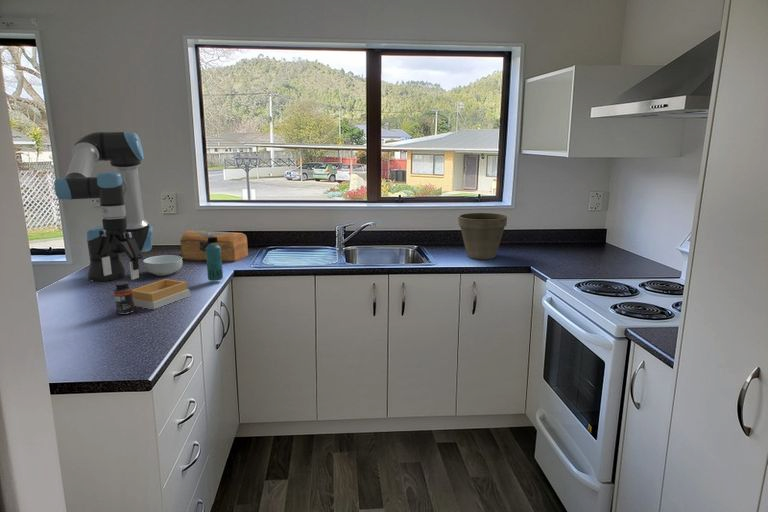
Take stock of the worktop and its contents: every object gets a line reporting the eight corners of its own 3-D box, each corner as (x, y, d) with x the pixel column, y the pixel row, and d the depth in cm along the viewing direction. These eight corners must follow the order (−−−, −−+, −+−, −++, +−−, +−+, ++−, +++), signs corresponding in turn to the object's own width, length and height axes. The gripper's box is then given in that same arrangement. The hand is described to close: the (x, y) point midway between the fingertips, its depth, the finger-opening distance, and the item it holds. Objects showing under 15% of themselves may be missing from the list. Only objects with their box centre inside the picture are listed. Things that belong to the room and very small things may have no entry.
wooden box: (180, 260, 266) (177, 233, 263) (198, 253, 281) (196, 228, 278) (233, 263, 259) (231, 236, 256) (248, 256, 275) (247, 230, 272)
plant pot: (448, 253, 278) (449, 213, 273) (486, 249, 288) (487, 210, 283) (474, 264, 256) (476, 220, 251) (514, 259, 266) (517, 217, 261)
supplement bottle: (130, 308, 192) (126, 279, 189) (138, 312, 188) (134, 282, 186) (113, 313, 187) (109, 283, 185) (121, 316, 184) (117, 286, 181)
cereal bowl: (169, 279, 230) (168, 264, 229) (136, 277, 234) (134, 262, 232) (190, 269, 247) (189, 255, 245) (159, 268, 250) (158, 253, 248)
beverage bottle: (207, 284, 222) (203, 239, 218) (208, 280, 228) (204, 236, 224) (223, 283, 224) (219, 238, 219) (223, 279, 230) (220, 235, 226)
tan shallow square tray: (119, 304, 197) (117, 289, 196) (156, 291, 213) (155, 277, 212) (154, 310, 190) (152, 294, 189) (190, 296, 206) (189, 282, 205)
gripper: (79, 217, 181) (87, 275, 186) (131, 221, 171) (138, 282, 176) (98, 214, 188) (105, 270, 193) (149, 217, 178) (155, 277, 183)
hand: (121, 276), depth 184 cm, fingers open, 13 cm apart
